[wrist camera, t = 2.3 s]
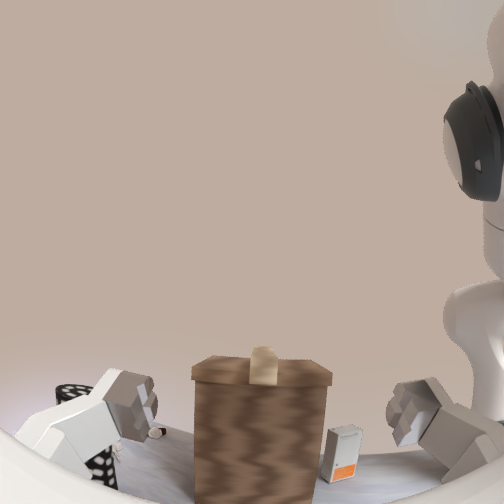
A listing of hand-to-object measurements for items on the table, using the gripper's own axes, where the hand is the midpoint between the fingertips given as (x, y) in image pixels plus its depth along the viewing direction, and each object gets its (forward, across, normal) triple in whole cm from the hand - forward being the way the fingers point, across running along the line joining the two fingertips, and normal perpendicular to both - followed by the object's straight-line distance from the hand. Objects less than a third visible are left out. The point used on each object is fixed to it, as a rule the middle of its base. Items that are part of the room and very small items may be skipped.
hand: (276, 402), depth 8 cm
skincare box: (+22, -17, +47) cm, 55 cm away
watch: (+36, +27, +56) cm, 71 cm away
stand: (+19, 0, +46) cm, 50 cm away
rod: (+26, 0, +19) cm, 32 cm away
